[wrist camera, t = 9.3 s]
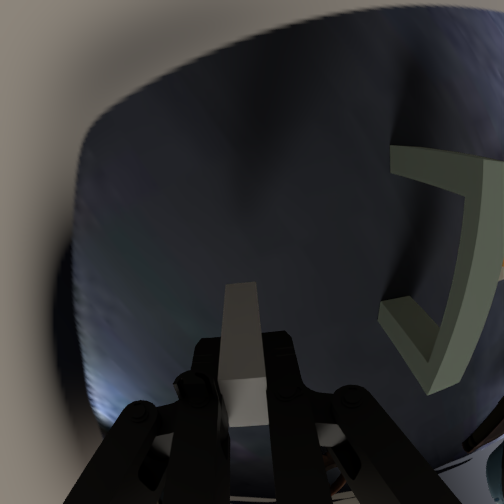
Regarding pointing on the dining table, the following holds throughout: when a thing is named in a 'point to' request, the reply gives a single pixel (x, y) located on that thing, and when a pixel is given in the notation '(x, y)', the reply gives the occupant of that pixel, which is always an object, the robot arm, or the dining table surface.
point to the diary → (487, 429)
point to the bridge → (466, 271)
